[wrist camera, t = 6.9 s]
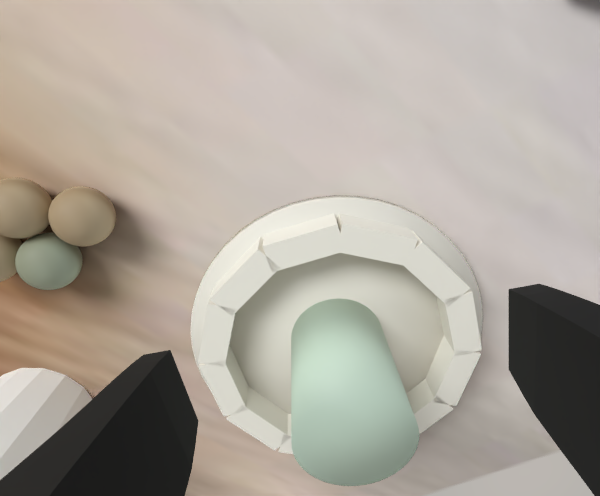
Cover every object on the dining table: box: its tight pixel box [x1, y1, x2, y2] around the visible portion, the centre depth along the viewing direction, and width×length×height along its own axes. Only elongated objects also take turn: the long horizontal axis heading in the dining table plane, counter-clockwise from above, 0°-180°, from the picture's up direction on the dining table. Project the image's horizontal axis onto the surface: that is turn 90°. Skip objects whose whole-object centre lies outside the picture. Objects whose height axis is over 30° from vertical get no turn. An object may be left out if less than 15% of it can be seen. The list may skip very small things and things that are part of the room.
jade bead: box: [291, 299, 419, 486], centre depth 17 cm, size 4×4×6 cm
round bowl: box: [190, 196, 483, 454], centre depth 19 cm, size 14×14×2 cm
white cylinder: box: [0, 368, 92, 480], centre depth 18 cm, size 7×7×7 cm
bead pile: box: [0, 178, 116, 290], centre depth 16 cm, size 6×5×2 cm
